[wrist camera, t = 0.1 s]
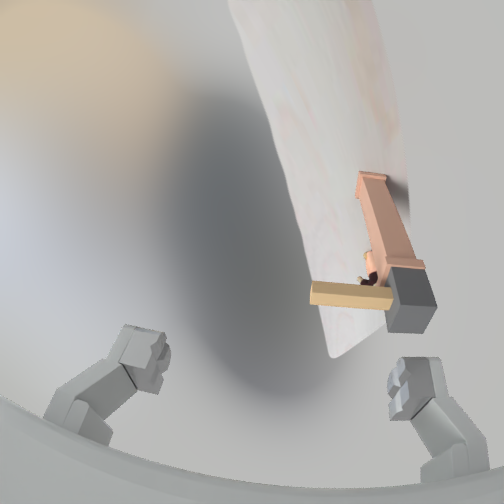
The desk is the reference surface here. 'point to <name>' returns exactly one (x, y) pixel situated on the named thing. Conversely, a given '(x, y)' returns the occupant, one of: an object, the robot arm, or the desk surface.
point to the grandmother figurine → (369, 270)
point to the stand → (384, 226)
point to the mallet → (385, 298)
